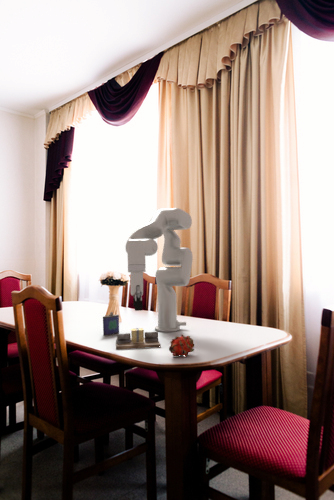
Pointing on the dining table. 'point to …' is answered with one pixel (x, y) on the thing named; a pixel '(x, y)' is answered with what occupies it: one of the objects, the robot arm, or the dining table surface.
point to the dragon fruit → (181, 346)
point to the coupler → (137, 335)
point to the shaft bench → (126, 342)
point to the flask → (110, 324)
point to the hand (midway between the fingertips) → (137, 308)
